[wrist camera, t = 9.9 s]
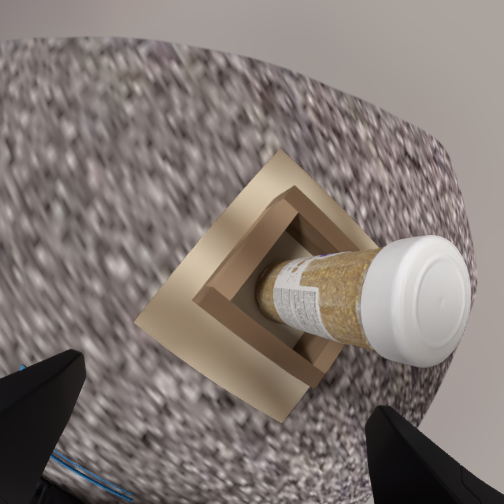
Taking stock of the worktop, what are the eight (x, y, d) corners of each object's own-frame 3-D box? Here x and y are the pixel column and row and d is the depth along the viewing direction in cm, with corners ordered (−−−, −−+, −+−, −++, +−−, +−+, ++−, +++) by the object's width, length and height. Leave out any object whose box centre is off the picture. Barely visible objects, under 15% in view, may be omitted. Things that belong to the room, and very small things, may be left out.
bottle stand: (277, 419, 21) (302, 443, 17) (134, 320, 19) (129, 331, 15) (383, 260, 25) (418, 257, 21) (276, 152, 23) (300, 129, 19)
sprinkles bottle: (302, 251, 22) (462, 220, 9) (319, 311, 22) (480, 333, 9) (244, 270, 21) (384, 254, 8) (263, 334, 21) (408, 395, 8)
